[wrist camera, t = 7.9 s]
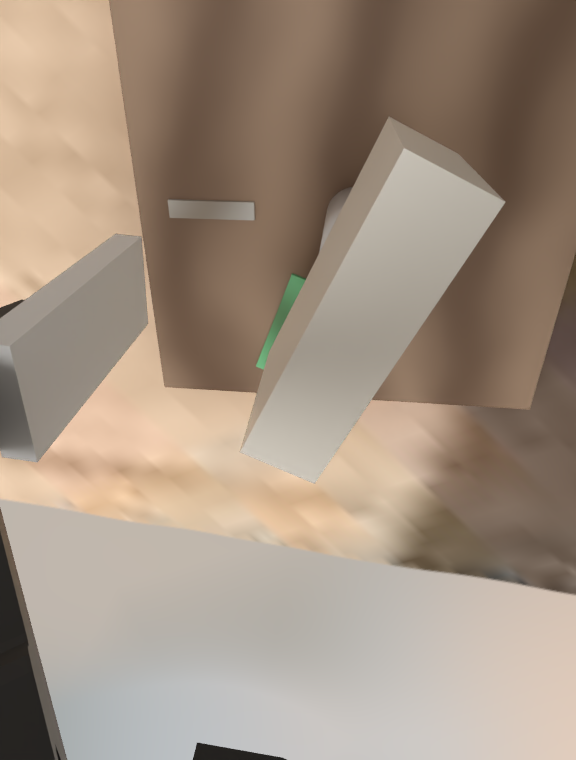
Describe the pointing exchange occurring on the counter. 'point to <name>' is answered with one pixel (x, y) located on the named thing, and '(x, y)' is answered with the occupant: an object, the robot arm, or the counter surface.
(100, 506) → the counter surface
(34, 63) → the counter surface
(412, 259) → the white stand
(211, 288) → the wooden cutting board
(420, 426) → the counter surface
